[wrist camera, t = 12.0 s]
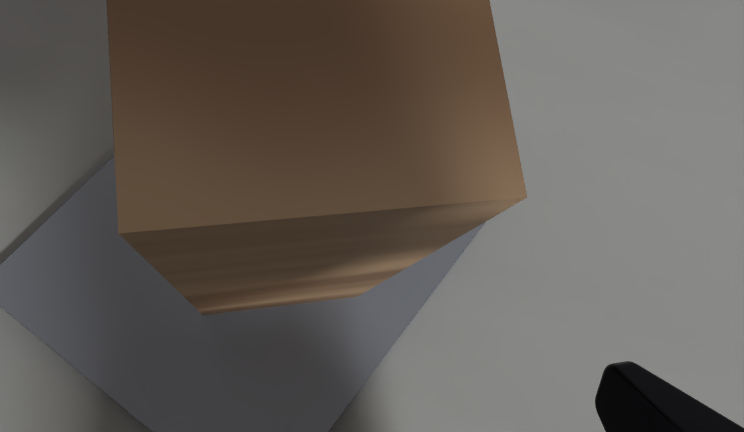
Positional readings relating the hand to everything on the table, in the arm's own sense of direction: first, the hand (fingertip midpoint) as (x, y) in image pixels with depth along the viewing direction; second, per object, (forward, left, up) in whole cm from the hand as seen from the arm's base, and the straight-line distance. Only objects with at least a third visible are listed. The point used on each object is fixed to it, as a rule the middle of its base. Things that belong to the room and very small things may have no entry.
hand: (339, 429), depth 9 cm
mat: (+4, +4, -11) cm, 12 cm away
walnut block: (+4, +4, -10) cm, 12 cm away
